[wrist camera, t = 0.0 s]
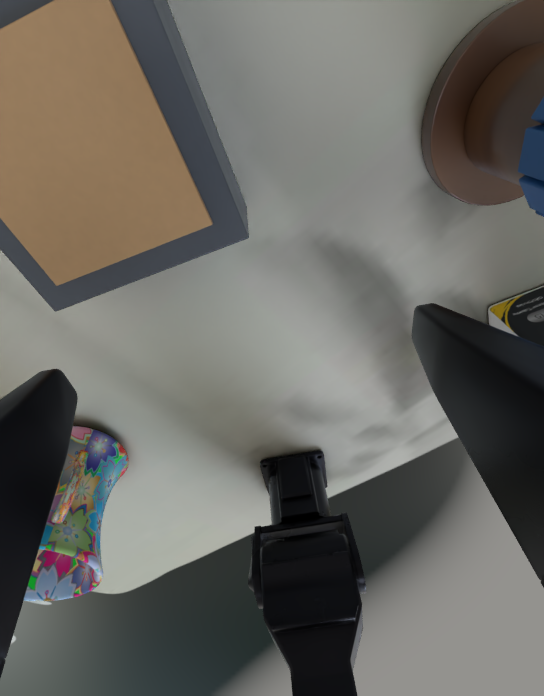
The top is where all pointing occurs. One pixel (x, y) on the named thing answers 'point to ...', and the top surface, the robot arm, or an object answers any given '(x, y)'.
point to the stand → (486, 106)
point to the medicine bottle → (521, 315)
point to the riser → (106, 148)
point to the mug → (77, 518)
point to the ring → (533, 162)
